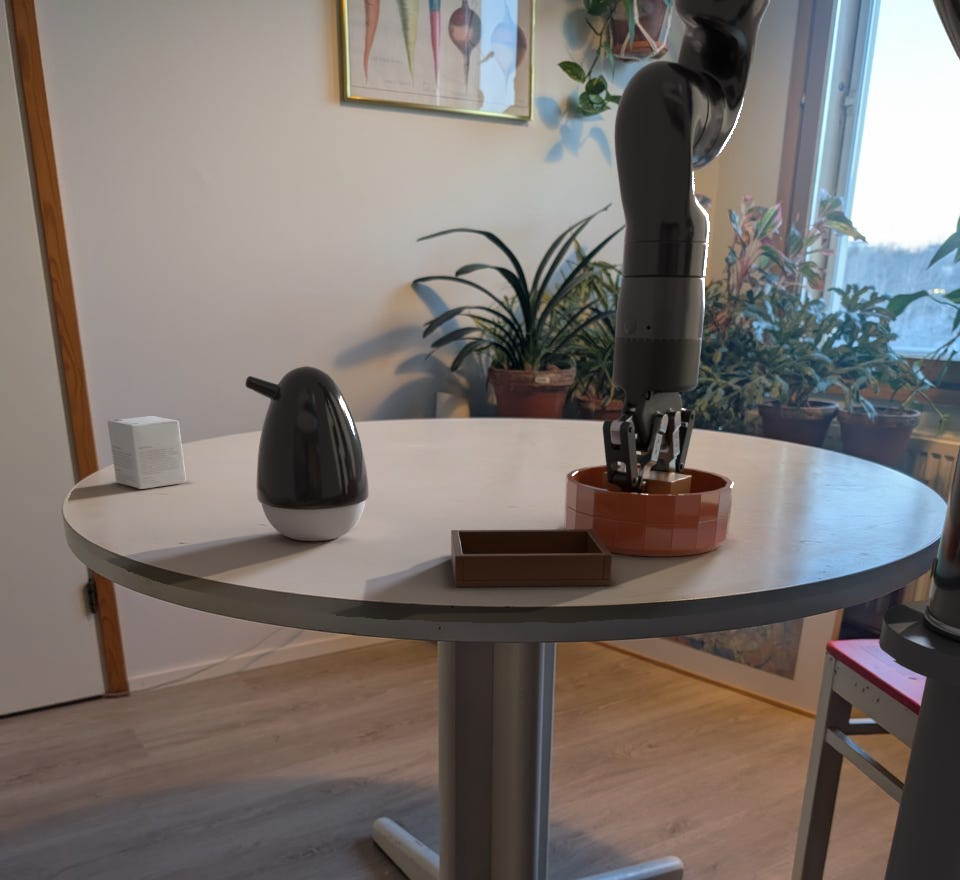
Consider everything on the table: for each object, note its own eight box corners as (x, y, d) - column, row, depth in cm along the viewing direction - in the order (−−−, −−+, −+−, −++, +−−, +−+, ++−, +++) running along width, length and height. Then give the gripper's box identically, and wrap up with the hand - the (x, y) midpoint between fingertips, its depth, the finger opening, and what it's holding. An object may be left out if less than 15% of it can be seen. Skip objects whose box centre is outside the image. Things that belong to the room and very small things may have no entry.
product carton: (187, 483, 106) (180, 419, 103) (138, 490, 101) (130, 424, 99) (162, 476, 109) (154, 415, 107) (114, 482, 105) (105, 419, 103)
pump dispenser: (255, 524, 87) (242, 362, 81) (362, 519, 89) (355, 361, 84) (259, 552, 78) (245, 371, 72) (378, 545, 80) (372, 370, 75)
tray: (590, 557, 77) (592, 529, 77) (610, 585, 70) (612, 554, 69) (451, 558, 77) (451, 529, 76) (455, 587, 69) (455, 556, 68)
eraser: (686, 530, 84) (691, 475, 82) (666, 539, 80) (671, 482, 79) (620, 519, 88) (624, 466, 86) (599, 527, 84) (602, 472, 83)
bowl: (752, 533, 86) (759, 477, 84) (681, 568, 75) (687, 503, 73) (614, 510, 95) (618, 458, 93) (533, 538, 83) (534, 479, 81)
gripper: (660, 337, 70) (643, 546, 76) (731, 332, 81) (712, 517, 87) (578, 333, 75) (569, 532, 81) (657, 330, 85) (643, 506, 91)
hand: (643, 523), depth 84 cm, fingers closed on eraser, 4 cm apart
